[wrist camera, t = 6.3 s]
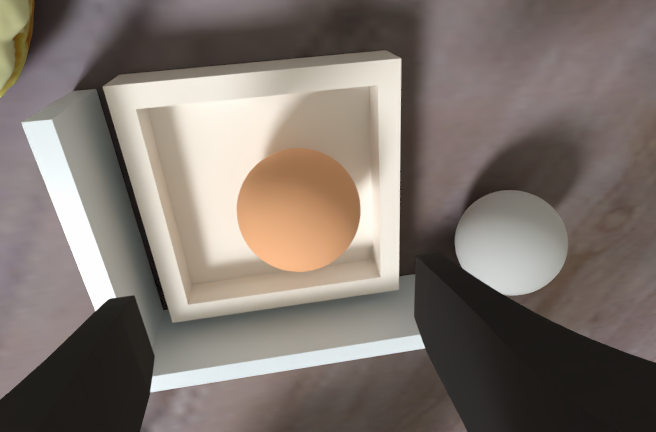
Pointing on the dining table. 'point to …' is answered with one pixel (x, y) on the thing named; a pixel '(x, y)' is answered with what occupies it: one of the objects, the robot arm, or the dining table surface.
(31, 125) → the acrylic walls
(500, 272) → the grey ball
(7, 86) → the decorated donut
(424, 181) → the dining table surface
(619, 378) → the robot arm
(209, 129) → the ceramic dish
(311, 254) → the terracotta ball
